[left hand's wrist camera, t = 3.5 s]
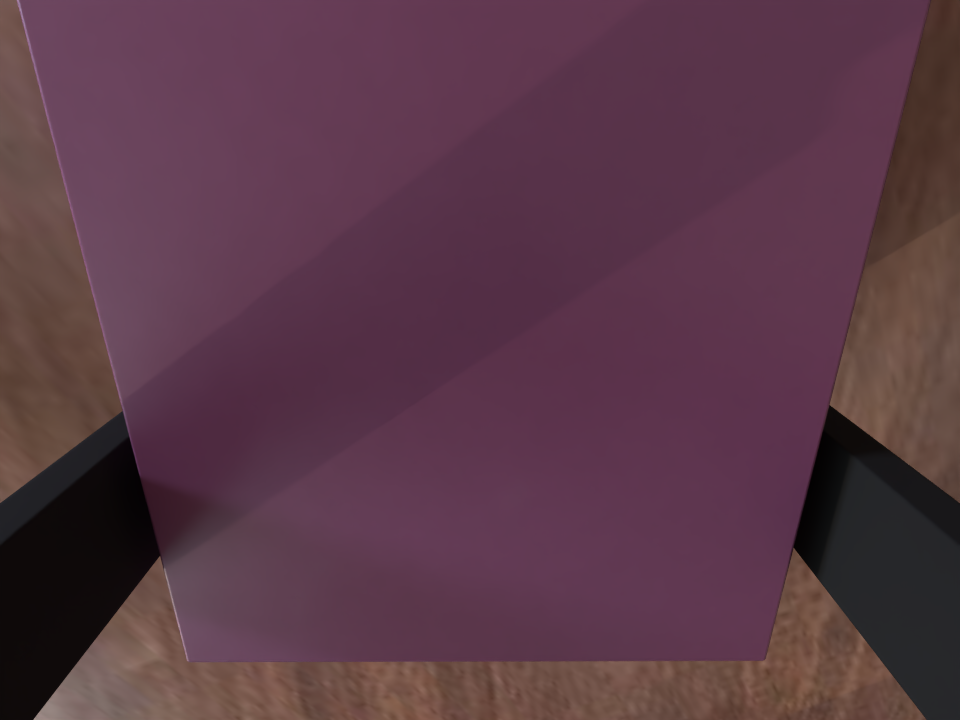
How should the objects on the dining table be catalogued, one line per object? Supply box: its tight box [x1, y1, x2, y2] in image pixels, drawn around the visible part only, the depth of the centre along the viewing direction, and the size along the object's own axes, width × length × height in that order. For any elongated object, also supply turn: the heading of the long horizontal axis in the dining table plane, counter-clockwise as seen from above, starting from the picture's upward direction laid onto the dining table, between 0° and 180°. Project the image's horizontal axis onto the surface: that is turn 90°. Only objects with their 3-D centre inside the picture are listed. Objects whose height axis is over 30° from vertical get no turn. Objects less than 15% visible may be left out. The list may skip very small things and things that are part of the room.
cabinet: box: [17, 0, 931, 662], centre depth 13 cm, size 19×12×11 cm, turn 0°
